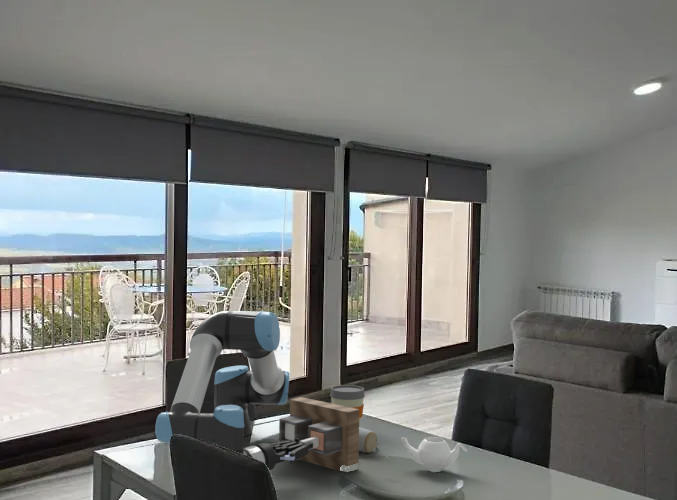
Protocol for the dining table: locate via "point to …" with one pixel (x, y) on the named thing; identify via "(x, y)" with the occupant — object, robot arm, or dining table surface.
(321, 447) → the terracotta key
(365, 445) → the grey canister
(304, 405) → the key panel
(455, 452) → the teapot
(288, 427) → the white key
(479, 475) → the dining table surface
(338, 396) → the reusable coffee cup
